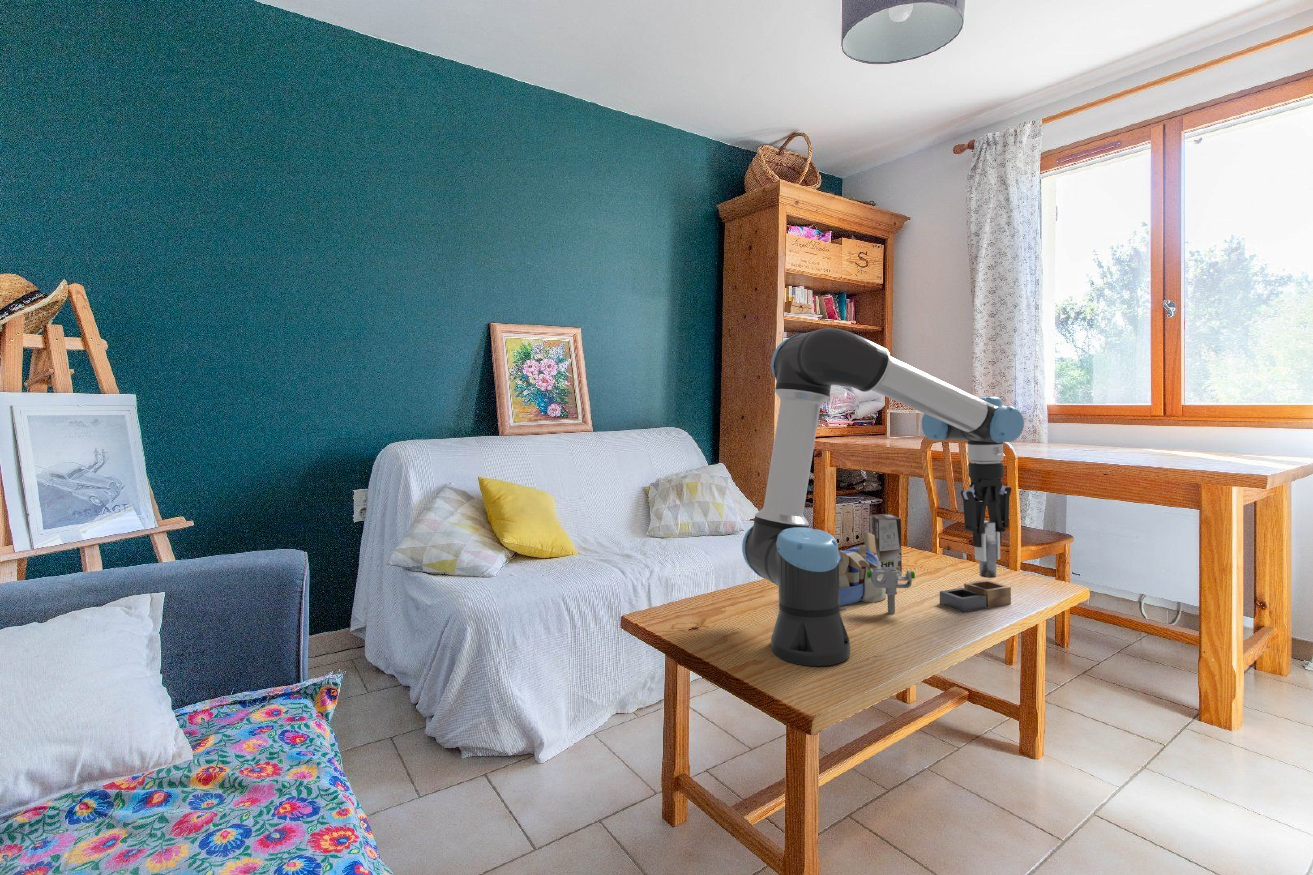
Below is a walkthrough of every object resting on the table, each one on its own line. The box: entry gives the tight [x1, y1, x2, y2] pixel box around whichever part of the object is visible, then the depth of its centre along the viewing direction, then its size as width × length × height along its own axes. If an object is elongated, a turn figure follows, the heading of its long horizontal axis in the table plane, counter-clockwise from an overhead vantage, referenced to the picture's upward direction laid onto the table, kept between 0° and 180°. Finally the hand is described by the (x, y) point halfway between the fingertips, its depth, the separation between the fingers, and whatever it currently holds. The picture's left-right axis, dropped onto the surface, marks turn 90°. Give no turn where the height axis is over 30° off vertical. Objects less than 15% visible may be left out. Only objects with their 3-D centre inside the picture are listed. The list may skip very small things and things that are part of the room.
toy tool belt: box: [839, 531, 887, 612], centre depth 156 cm, size 26×16×16 cm, turn 122°
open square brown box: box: [963, 579, 1012, 609], centre depth 151 cm, size 7×7×4 cm
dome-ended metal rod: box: [978, 520, 997, 579], centre depth 151 cm, size 4×4×13 cm
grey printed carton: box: [869, 513, 903, 576], centre depth 180 cm, size 9×6×16 cm
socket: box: [939, 587, 987, 613], centre depth 149 cm, size 7×7×3 cm
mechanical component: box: [867, 569, 916, 615], centre depth 146 cm, size 3×10×10 cm, turn 78°
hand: (987, 558), depth 151 cm, fingers closed on dome-ended metal rod, 4 cm apart
